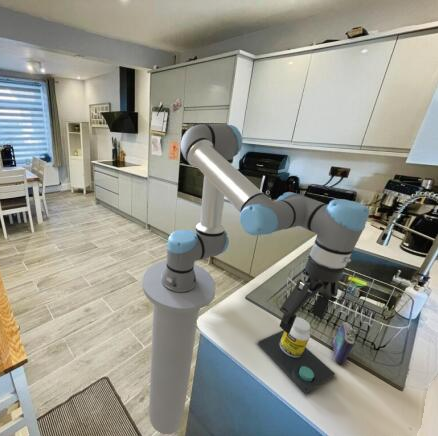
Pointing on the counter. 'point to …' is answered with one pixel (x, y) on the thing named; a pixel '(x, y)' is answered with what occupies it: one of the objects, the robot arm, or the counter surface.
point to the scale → (296, 363)
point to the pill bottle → (296, 338)
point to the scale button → (306, 373)
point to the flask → (343, 343)
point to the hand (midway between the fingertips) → (301, 322)
